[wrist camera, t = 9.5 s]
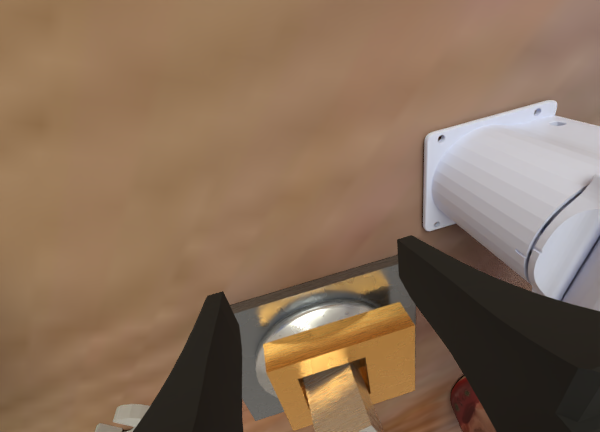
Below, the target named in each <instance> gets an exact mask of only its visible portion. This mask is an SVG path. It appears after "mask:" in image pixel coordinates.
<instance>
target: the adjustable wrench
mask: <svg viewBox="0 0 600 432" xmlns="http://www.w3.org/2000/svg"><path fill="white" fill-rule="evenodd" d="M149 407H150V406H147V405H140V404H128V405H121V406H119V407H117V409H116V413H115V416H114V420H113V422H115V423H119V424H124V425H128V426H133V428H132V429H131V430H130V431H126V432H133V430H134V429H135V428H136V426H137V425H138V423H139V422H140V420H141V419H142V418H143V416H144V415H145V413H146V412H147V410H148V409H149ZM122 429H123V428H119V427H115V426H110V425H106V424H101V423H99V424H98V425H97V426H96V429H95V432H122Z"/></svg>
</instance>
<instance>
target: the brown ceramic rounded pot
mask: <svg viewBox="0 0 600 432" xmlns="http://www.w3.org/2000/svg"><path fill="white" fill-rule="evenodd" d="M451 404H452V407H453V410H454V413H455V415H456V418H457V420H458V422H459V425H460V427H461V429H462V431H463V432H496V430H495V428H494V427H493V425H492V423H491V421H490V419H489V417H488V416H487V414H486V412H485V410H484V408H483V406H482V405H481V403H480V401H479V399H478V398H477V396H476V394H475V392H474V391H473V389H472V387H471V386H470V384H469V382H468V380H467V379H466V377H465V376H464V377H462V378H461V379H460V380H459V381H458V382H457V383H456V385H455V386H454V388H453V390H452V392H451Z"/></svg>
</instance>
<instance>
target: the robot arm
mask: <svg viewBox="0 0 600 432" xmlns="http://www.w3.org/2000/svg"><path fill="white" fill-rule="evenodd" d="M556 109H557V102H556V101H553V100H547V101H543V102H539V103H536V104H532V105H529V106H525V107H521V108H518V109H514V110H510V111H507V112H503V113H499V114H496V115H492V116H488V117H485V118H481V119H478V120H474V121H470V122H467V123H463V124H459V125H456V126H452V127H448V128H445V129H441V130H438V131H434V132H431V133H429V134H428V135H427V136H426V138H425V141H424V192H423V228H424V229H425V230H426V231H432V230H436V229H439V228H442V227H446V226H449V225H453V224H457V225H459V226H460V227H461V228H462V229H464V230H465V231H466V232H467V233H468V234H470V235H471V236H472V237H473V238H475V239H476V240H477V241H478V242H479V243H481V244H482V245H483V246H484V247H486V248H487V249H488V250H489V251H490V252H492V253H493V254H494V255H495V256H497V257H498V258H499V259H500V260H501V261H503V262H504V263H505V264H506V265H508V266H509V267H510V268H511V269H512V270H514V271H515V272H516V273H517V274H519V275H520V276H521V277H522V278H523V279H525V280H526V281H527V282H528V283H530V284H531V285H532V292H531V291H528V290H525V289H523V288H520V287H517V286H515V285H512V284H509V283H507V282H504V281H502V280H499V279H497V278H494V277H492V276H490V275H487V274H485V273H483V272H481V271H479V270H476V269H474V268H472V267H470V266H468V265H466V264H464V263H462V262H460V261H458V260H456V259H454V258H452V257H450V256H448V255H446V254H445V253H443V252H441V251H439V250H437V249H435V248H434V247H432V246H430V245H428V244H426V243H425V242H423V241H421V240H419V239H417V238H416V237H414V236H412V235H411V236H408V237H404V238H401V239H398V240H397V244H398V271H399V278H400V280H401V281H402V283H403V285H404V287H405V289H406V290H407V292H408V294H409V296H410V297H411V299H412V300H413V302H414V303H415V304H416V306H417V307H418V308H419V310H420V311H421V313H422V314H423V315H424V317H425V318H426V319H427V321H428V322H429V323H430V325H431V326H432V327H433V329H434V330H435V331H436V333H437V334H438V336H439V337H440V338H441V340H442V341H443V342H444V344H445V345H446V347H447V348H448V349H449V351H450V352H451V354H452V355H453V357H454V359H455V360H456V362H457V364H458V365H459V367H460V369H461V370H462V372H463V374H464V375H465V377H466V379H467V380H468V382H469V384H470V386H471V387H472V389H473V391H474V392H475V394H476V396H477V398H478V399H479V401H480V403H481V405H482V406H483V408H484V410H485V412H486V414H487V416H488V417H489V419H490V421H491V423H492V425H493V427H494V428H495V430H496V432H600V126H597V125H593V124H588V123H584V122H580V121H576V120H572V119H568V118H563V117H559V116H555V113H556ZM535 110H536V112H535ZM534 112H535V113H534ZM441 135H442V137H441V139H440V140H439V141H438V138H439V136H441ZM436 222H437V223H436ZM435 223H436V224H435ZM133 432H243V424H242V344H241V335H240V327H239V323H238V321H237V319H236V317H235V315H234V313H233V311H232V309H231V307H230V305H229V303H228V301H227V299H226V297H225V294H224V292H219V293H216V294H213V295H209V296H207V298H206V300H205V302H204V305H203V307H202V309H201V312H200V314H199V316H198V319H197V321H196V323H195V325H194V328H193V330H192V332H191V334H190V336H189V338H188V340H187V343H186V345H185V347H184V349H183V351H182V353H181V354H180V356H179V358H178V360H177V362H176V364H175V366H174V368H173V370H172V371H171V373H170V375H169V377H168V378H167V380H166V382H165V383H164V385H163V387H162V388H161V390H160V392H159V393H158V395H157V396H156V398H155V400H154V401H153V403H152V404H151V406H150V407H149V409H148V410H147V412H146V413H145V415H144V416H143V418H142V419H141V420H140V422H139V423H138V425H137V426H136V428H135V429H134V430H133Z"/></svg>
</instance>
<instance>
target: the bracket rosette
mask: <svg viewBox="0 0 600 432" xmlns="http://www.w3.org/2000/svg"><path fill="white" fill-rule="evenodd" d="M230 307H231V309H232V311H233V313H234V315H235V317H236V319H237V321H238V323H239V327H240V335H241V344H242V399H243V400H244V402H245V404H246V406H247V407H248V409H249V411H250V412H251V414H252V416H253V417H254V419H255V421H257V420H260V419H263V418H266V417H269V416H272V415H275V414H278V413H281V412H285V414H286V416H287V418H288V420H289V422H290V424H291V426H292V429H293V431H295V430H298V429H301V428H304V427H307V426H310V425H313V421H312V416H311V412H310V407H309V403H308V398H307V394H306V389H305V384H304V380H303V377H305V376H308V375H312V374H315V373H318V372H321V371H324V370H327V369H330V368H333V367H336V366H340V365H343V364H346V363H349V362H352V361H355V360H356V362H357V365H358V367H359V370H360V373H361V375H362V378H363V380H364V383H365V385H366V388H367V390H368V393H369V395H370V398H371V400H372V403H373V404H376V403H379V402H382V401H385V400H388V399H391V398H394V397H397V396H400V395H403V394H406V393H409V392H412V391H415V344H416V304H415V303H414V302H413V300H412V299H411V297H410V296H409V294H408V292H407V290H406V289H405V287H404V285H403V283H402V281H401V280H400V278H399V271H398V255H396V256H393V257H389V258H386V259H383V260H379V261H376V262H373V263H369V264H366V265H363V266H359V267H356V268H353V269H349V270H346V271H343V272H339V273H336V274H333V275H329V276H326V277H323V278H319V279H316V280H313V281H309V282H306V283H303V284H299V285H296V286H293V287H290V288H286V289H283V290H280V291H276V292H273V293H270V294H266V295H263V296H260V297H256V298H253V299H250V300H246V301H243V302H240V303H236V304H233V305H230Z"/></svg>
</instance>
